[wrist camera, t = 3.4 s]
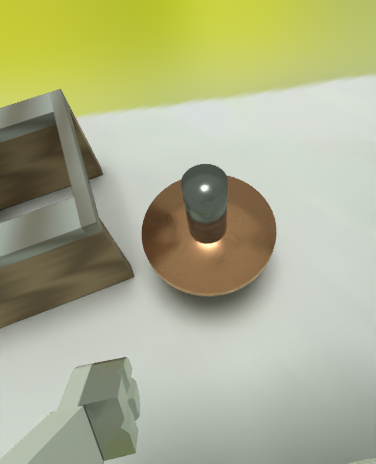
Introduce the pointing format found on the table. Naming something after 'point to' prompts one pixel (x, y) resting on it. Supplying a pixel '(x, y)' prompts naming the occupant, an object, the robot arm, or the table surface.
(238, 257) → the spinning top
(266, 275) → the table surface
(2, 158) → the wood and metal frame
